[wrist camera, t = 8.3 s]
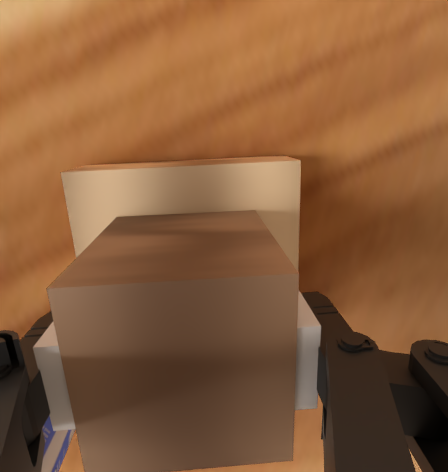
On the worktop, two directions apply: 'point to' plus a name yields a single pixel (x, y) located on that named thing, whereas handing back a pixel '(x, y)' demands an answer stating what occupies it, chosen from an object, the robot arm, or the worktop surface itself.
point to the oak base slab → (186, 194)
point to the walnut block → (180, 343)
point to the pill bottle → (55, 446)
